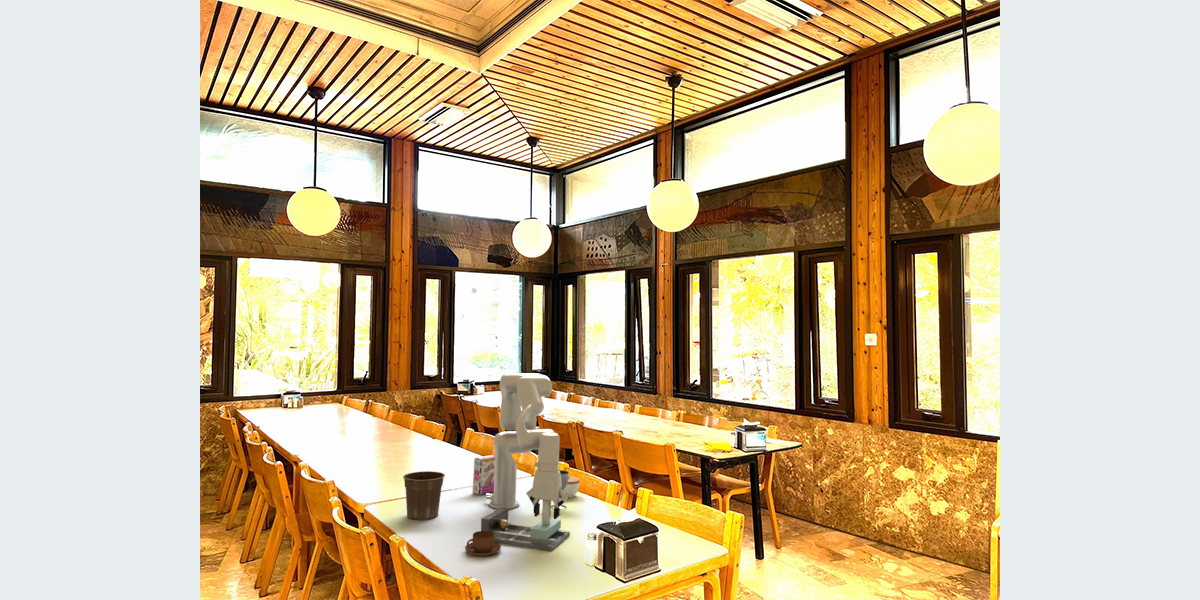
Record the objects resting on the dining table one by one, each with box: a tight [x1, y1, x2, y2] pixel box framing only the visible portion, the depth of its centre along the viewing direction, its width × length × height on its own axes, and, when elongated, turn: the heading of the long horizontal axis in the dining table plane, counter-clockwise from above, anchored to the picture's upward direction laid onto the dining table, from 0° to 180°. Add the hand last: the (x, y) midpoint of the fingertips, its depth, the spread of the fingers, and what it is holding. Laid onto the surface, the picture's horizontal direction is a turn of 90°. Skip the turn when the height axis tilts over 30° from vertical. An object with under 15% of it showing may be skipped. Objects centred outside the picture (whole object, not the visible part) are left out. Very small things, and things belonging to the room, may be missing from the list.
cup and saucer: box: [464, 530, 502, 557], centre depth 212 cm, size 12×12×6 cm
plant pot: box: [402, 470, 446, 521], centre depth 250 cm, size 16×16×16 cm
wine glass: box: [551, 469, 570, 510], centre depth 270 cm, size 8×8×15 cm
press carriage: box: [530, 500, 562, 540], centre depth 226 cm, size 6×14×16 cm, turn 162°
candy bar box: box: [472, 454, 495, 496], centre depth 290 cm, size 11×5×16 cm, turn 144°
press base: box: [480, 507, 571, 552], centre depth 228 cm, size 28×18×8 cm, turn 72°
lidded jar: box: [561, 476, 581, 498], centre depth 289 cm, size 11×11×9 cm
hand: (546, 516), depth 225 cm, fingers open, 6 cm apart
